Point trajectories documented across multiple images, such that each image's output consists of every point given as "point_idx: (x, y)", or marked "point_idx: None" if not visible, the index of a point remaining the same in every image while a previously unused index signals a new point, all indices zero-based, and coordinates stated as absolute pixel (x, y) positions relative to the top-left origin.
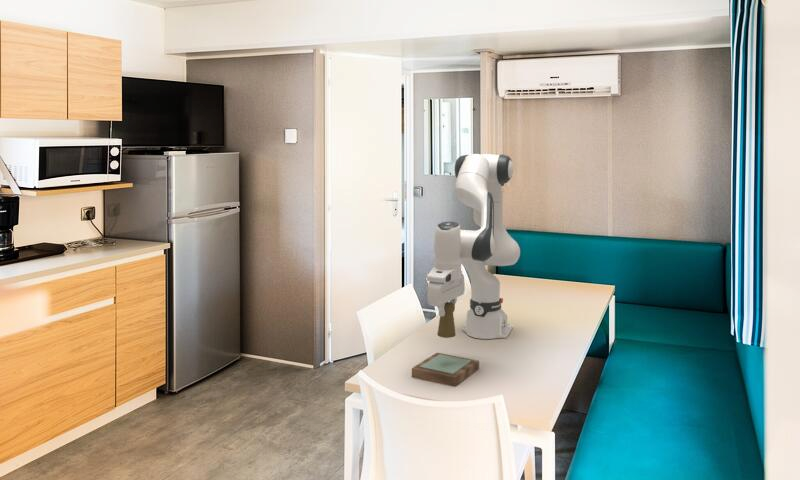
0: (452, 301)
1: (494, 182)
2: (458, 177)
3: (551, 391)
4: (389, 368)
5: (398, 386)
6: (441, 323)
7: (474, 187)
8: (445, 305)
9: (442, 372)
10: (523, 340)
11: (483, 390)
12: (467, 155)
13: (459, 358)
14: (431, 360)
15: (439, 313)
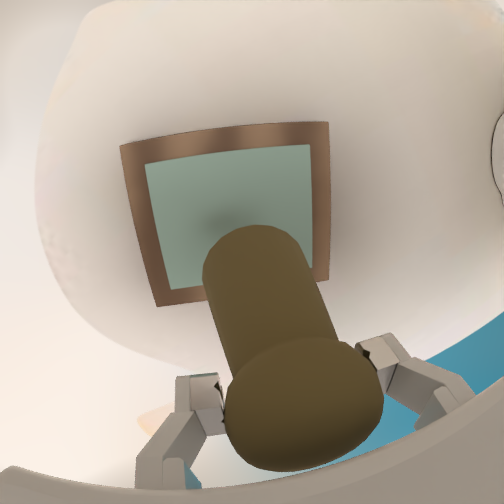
0: (426, 396)
1: None
2: None
3: None
4: (148, 36)
5: (49, 169)
6: (217, 318)
7: None
8: (248, 463)
9: (160, 254)
10: (498, 241)
11: (190, 346)
12: None
13: (309, 228)
14: (229, 157)
15: (175, 394)
